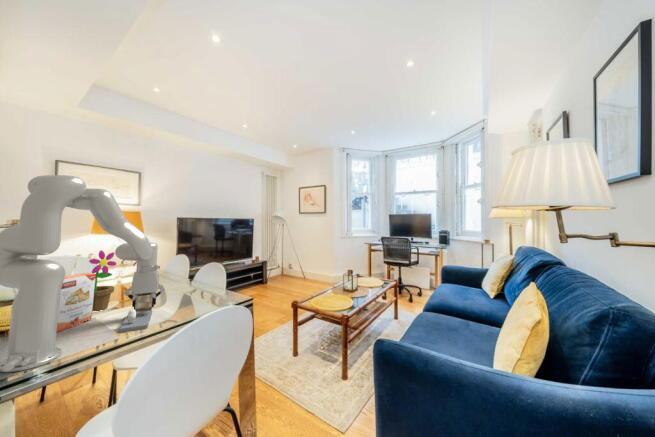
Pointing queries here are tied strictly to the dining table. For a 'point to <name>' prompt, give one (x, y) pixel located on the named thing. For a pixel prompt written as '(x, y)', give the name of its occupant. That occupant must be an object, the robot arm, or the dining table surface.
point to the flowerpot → (102, 292)
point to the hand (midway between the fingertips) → (144, 306)
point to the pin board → (136, 321)
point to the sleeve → (143, 302)
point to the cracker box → (75, 300)
